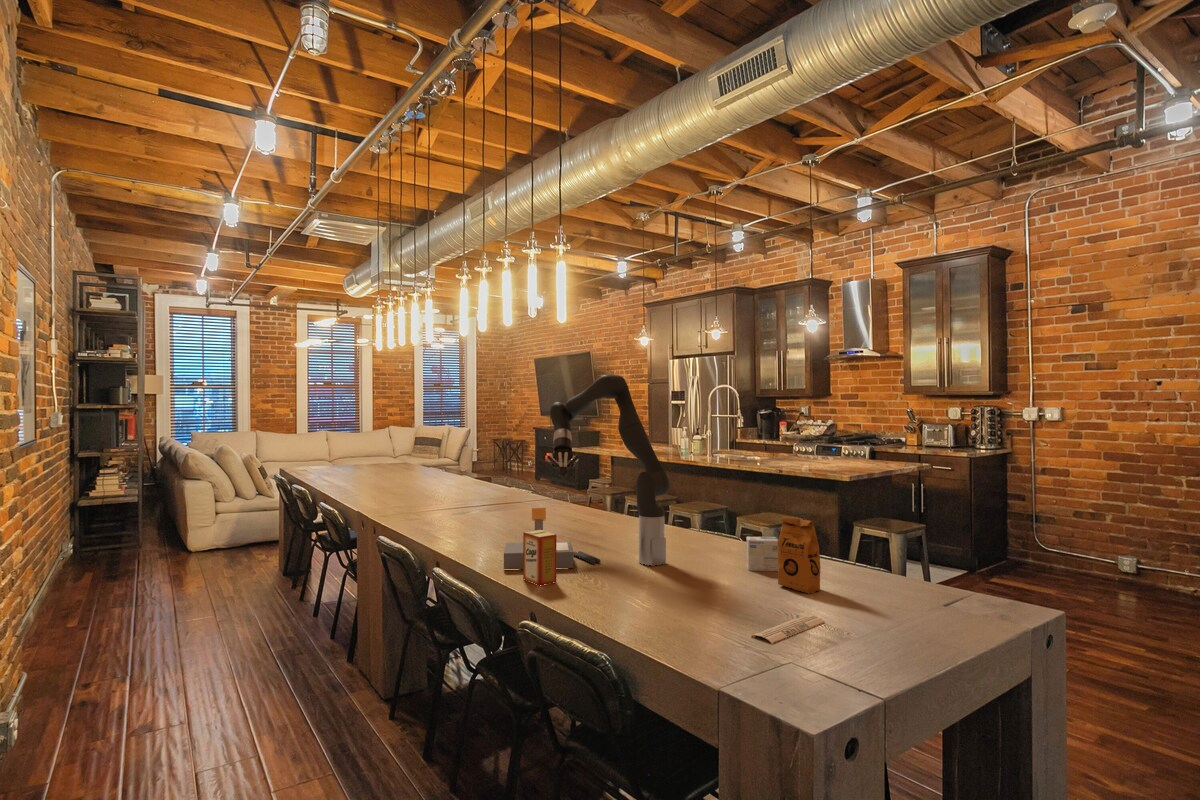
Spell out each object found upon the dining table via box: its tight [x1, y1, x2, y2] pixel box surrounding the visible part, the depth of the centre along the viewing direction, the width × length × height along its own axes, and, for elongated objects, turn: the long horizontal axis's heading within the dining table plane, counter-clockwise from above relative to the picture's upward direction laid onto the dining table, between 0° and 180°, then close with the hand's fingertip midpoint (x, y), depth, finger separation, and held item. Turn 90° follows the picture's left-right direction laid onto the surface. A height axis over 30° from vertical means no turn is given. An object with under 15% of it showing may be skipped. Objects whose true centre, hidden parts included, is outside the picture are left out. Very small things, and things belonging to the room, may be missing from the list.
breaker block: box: [503, 541, 574, 570], centre depth 230 cm, size 16×24×9 cm, turn 95°
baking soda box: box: [522, 529, 557, 587], centre depth 208 cm, size 10×6×16 cm
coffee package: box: [777, 516, 821, 595], centre depth 201 cm, size 10×12×22 cm
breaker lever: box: [531, 507, 547, 531], centre depth 233 cm, size 2×5×13 cm, turn 96°
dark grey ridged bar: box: [573, 550, 602, 565], centre depth 237 cm, size 16×4×2 cm, turn 31°
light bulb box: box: [745, 536, 779, 572], centre depth 224 cm, size 11×7×11 cm, turn 84°
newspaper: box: [750, 614, 826, 645], centre depth 165 cm, size 24×7×2 cm, turn 130°
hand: (563, 476), depth 247 cm, fingers closed
